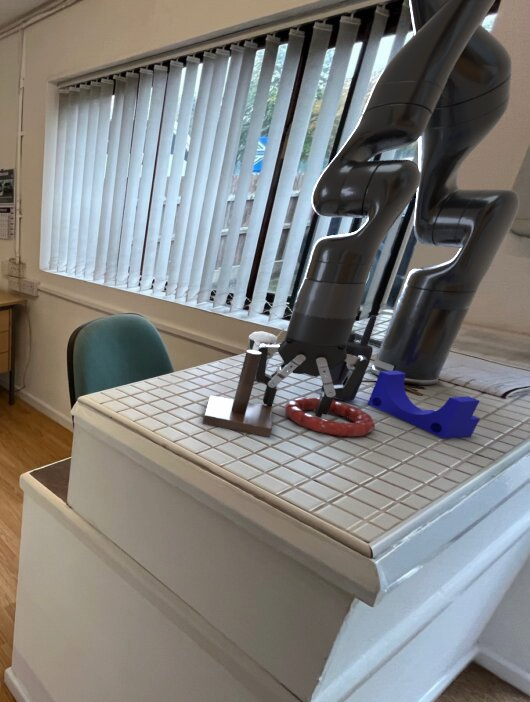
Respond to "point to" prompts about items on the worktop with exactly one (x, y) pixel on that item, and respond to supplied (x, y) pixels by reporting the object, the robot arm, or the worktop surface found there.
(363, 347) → the two-way radio
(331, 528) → the worktop surface
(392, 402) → the cable clip
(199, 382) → the worktop surface
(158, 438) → the worktop surface
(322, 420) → the ring
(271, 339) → the milkshake
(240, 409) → the stand
